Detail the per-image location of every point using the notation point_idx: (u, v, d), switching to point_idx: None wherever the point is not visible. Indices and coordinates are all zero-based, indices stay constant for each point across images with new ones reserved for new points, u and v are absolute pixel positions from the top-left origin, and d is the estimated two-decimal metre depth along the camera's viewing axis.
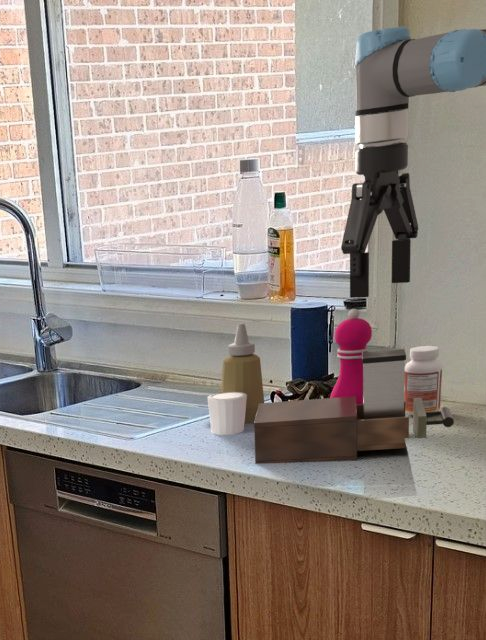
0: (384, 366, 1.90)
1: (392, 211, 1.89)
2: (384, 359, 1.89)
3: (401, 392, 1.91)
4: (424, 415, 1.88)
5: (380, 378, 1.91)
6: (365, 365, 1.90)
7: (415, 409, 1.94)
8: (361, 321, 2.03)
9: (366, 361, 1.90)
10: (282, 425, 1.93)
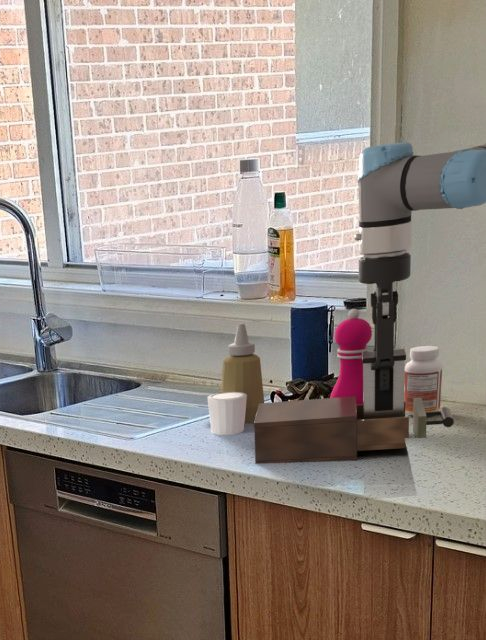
0: None
1: None
2: None
3: (401, 392, 1.91)
4: (424, 415, 1.88)
5: None
6: (365, 365, 1.90)
7: (415, 409, 1.94)
8: (361, 321, 2.03)
9: (366, 361, 1.90)
10: (282, 425, 1.93)
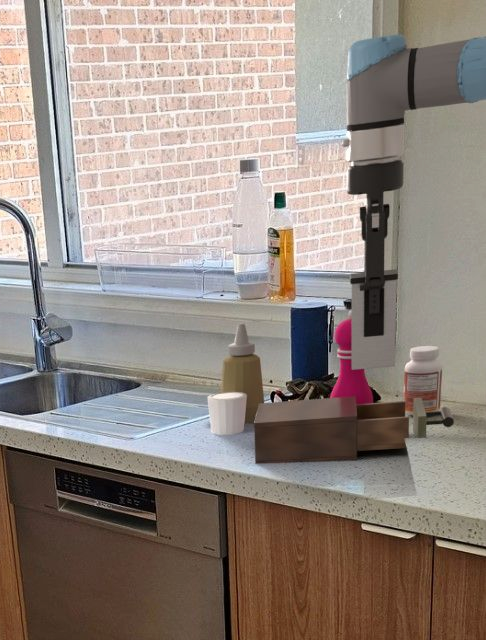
0: None
1: None
2: None
3: (392, 316, 1.74)
4: (424, 415, 1.88)
5: None
6: (353, 286, 1.74)
7: (415, 409, 1.94)
8: None
9: (354, 281, 1.74)
10: (282, 425, 1.93)
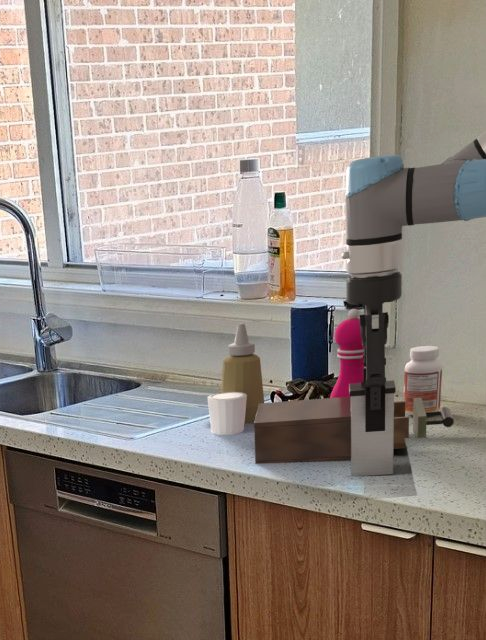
0: None
1: None
2: None
3: (390, 427, 1.80)
4: (424, 415, 1.88)
5: None
6: (352, 398, 1.80)
7: (415, 409, 1.94)
8: None
9: (353, 394, 1.79)
10: (282, 425, 1.93)
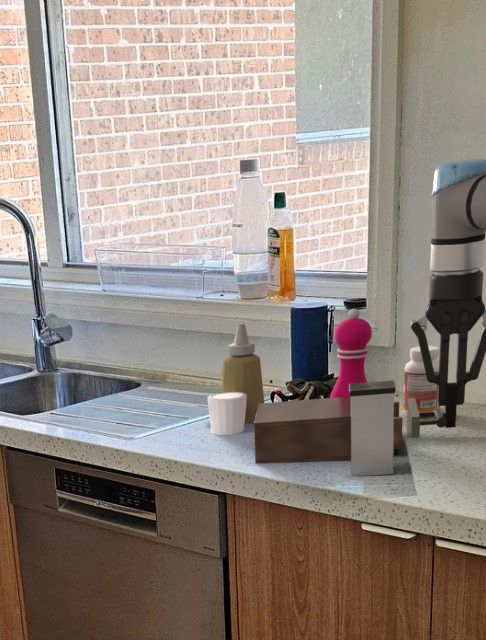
0: (372, 399, 1.79)
1: (458, 342, 1.88)
2: (372, 392, 1.78)
3: (390, 427, 1.80)
4: (417, 415, 1.88)
5: (368, 412, 1.80)
6: (352, 398, 1.80)
7: None
8: (361, 321, 2.03)
9: (353, 394, 1.79)
10: (282, 425, 1.93)
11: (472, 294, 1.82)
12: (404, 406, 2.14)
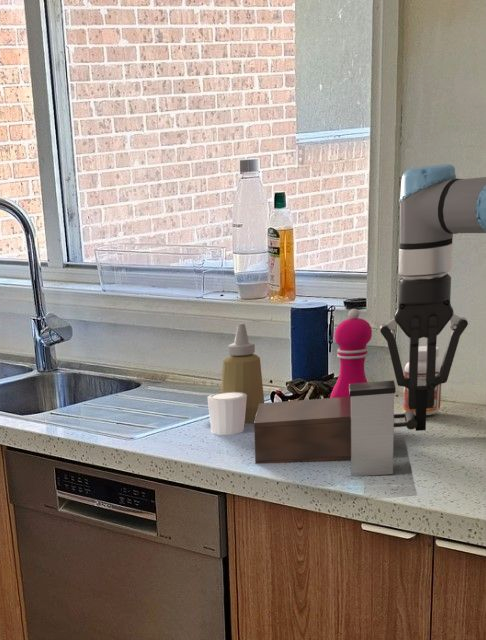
0: (372, 399, 1.79)
1: (427, 346, 1.89)
2: (372, 392, 1.78)
3: (390, 427, 1.80)
4: None
5: (368, 412, 1.80)
6: (352, 398, 1.80)
7: None
8: (361, 321, 2.03)
9: (353, 394, 1.79)
10: (282, 425, 1.93)
11: (440, 298, 1.83)
12: (404, 406, 2.14)
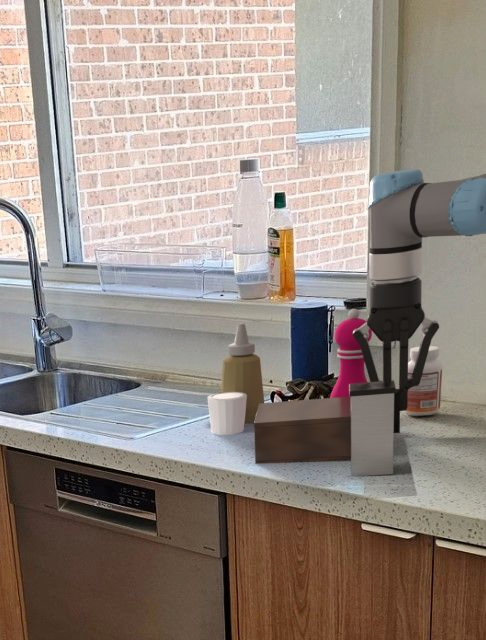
0: (372, 399, 1.79)
1: None
2: (372, 392, 1.78)
3: (390, 427, 1.80)
4: None
5: (368, 412, 1.80)
6: (352, 398, 1.80)
7: None
8: (361, 321, 2.03)
9: (353, 394, 1.79)
10: (282, 425, 1.93)
11: (411, 302, 1.84)
12: None
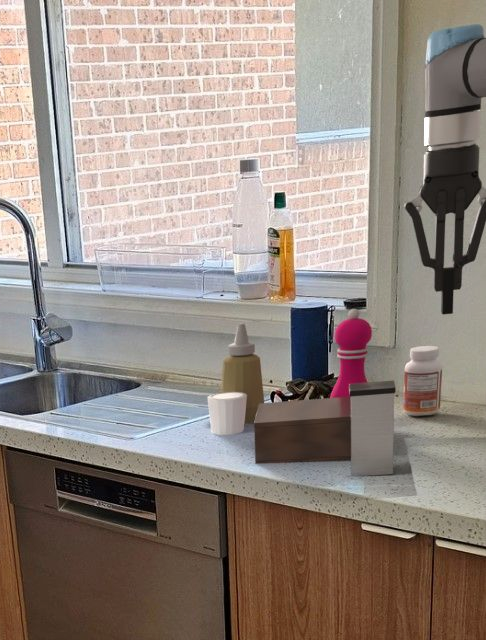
0: (372, 399, 1.79)
1: (454, 223, 1.81)
2: (372, 392, 1.78)
3: (390, 427, 1.80)
4: None
5: (368, 412, 1.80)
6: (352, 398, 1.80)
7: None
8: (361, 321, 2.03)
9: (353, 394, 1.79)
10: (282, 425, 1.93)
11: (468, 168, 1.75)
12: (404, 406, 2.14)
